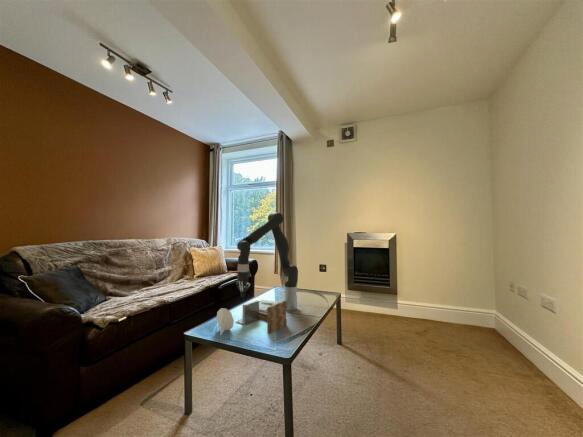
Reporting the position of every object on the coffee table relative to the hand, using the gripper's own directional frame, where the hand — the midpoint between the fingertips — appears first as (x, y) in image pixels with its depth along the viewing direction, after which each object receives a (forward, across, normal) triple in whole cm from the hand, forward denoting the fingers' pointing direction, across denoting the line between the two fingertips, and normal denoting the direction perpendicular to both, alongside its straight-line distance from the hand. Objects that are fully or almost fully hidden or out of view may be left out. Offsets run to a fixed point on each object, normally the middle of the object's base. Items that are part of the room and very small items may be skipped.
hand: (242, 296), depth 160 cm
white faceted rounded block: (+15, -8, +22) cm, 28 cm away
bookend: (+15, -8, 0) cm, 17 cm away
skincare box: (+12, -8, -22) cm, 26 cm away
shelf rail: (+15, -14, -8) cm, 22 cm away
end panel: (+15, -29, -1) cm, 32 cm away
